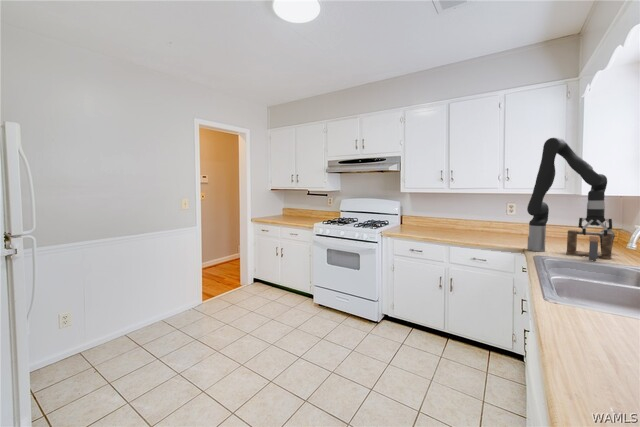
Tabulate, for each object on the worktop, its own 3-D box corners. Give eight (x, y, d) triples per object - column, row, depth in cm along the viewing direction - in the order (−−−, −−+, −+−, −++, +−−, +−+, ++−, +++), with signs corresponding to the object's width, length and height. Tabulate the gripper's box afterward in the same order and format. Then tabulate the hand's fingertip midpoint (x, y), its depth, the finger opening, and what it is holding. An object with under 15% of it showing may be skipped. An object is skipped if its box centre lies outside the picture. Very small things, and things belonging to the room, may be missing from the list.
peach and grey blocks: (587, 260, 169) (588, 236, 168) (589, 257, 175) (590, 234, 174) (597, 261, 166) (598, 237, 165) (598, 258, 172) (599, 235, 171)
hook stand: (566, 254, 184) (567, 231, 183) (568, 252, 191) (569, 229, 190) (610, 259, 169) (611, 234, 168) (611, 256, 176) (612, 232, 175)
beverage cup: (616, 254, 182) (618, 223, 180) (601, 253, 184) (603, 222, 183) (610, 252, 188) (611, 222, 187) (595, 251, 191) (597, 221, 190)
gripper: (578, 208, 171) (577, 235, 172) (612, 208, 161) (611, 237, 162) (580, 207, 176) (579, 234, 177) (613, 208, 166) (612, 236, 167)
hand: (594, 235), depth 169 cm, fingers open, 8 cm apart
